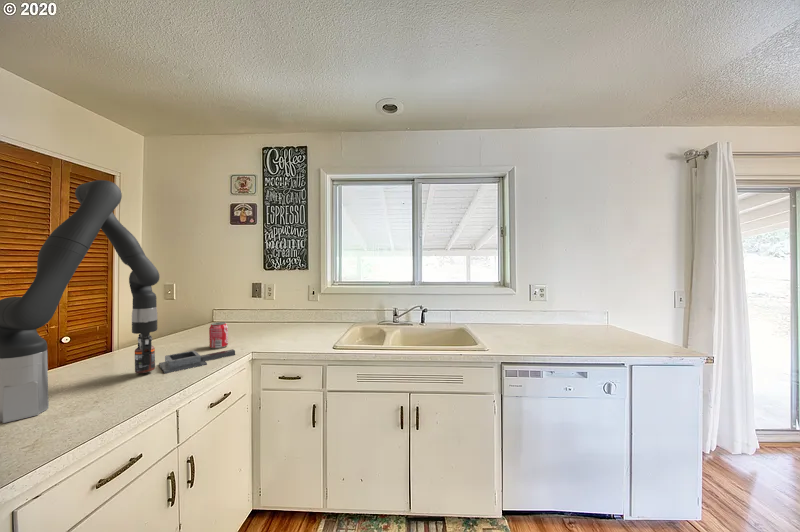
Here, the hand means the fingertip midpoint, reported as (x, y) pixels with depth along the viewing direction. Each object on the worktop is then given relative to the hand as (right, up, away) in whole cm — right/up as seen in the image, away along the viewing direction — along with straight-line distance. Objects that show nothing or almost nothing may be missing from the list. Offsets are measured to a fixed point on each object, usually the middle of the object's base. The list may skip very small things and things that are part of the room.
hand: (145, 362), depth 115 cm
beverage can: (+7, -4, +35) cm, 36 cm away
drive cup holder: (+12, -4, +14) cm, 19 cm away
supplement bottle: (0, -3, 0) cm, 3 cm away
